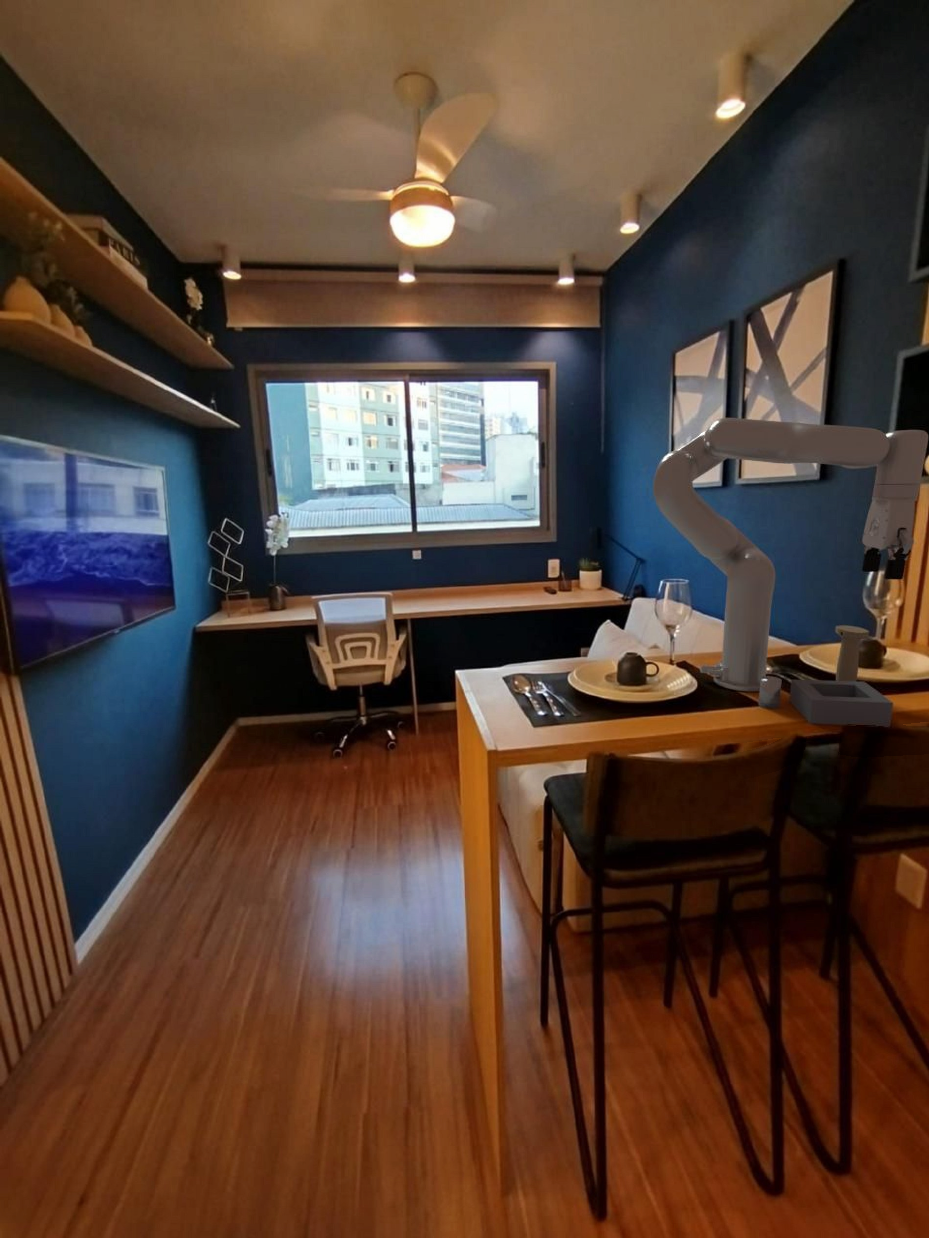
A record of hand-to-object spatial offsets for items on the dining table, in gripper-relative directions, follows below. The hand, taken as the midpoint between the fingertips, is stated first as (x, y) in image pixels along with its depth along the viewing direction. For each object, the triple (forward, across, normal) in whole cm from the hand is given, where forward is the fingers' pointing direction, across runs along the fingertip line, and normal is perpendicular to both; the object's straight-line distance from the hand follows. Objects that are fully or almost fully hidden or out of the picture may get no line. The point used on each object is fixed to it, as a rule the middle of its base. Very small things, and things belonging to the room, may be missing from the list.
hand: (881, 575), depth 121 cm
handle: (+27, +1, -4) cm, 27 cm away
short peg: (+27, +10, -22) cm, 36 cm away
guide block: (+27, +13, -10) cm, 32 cm away
